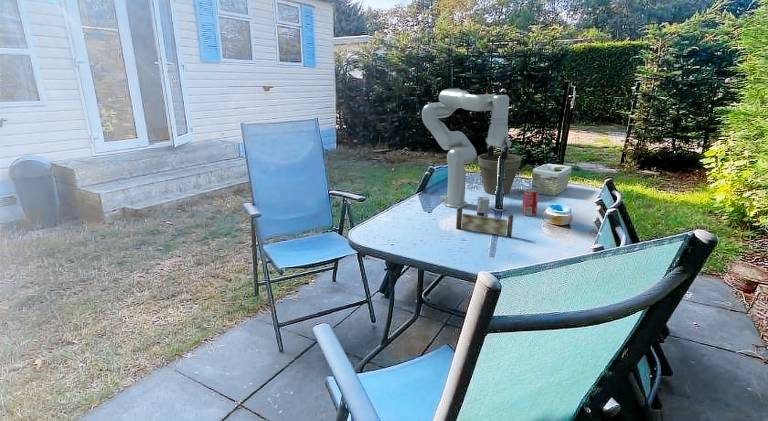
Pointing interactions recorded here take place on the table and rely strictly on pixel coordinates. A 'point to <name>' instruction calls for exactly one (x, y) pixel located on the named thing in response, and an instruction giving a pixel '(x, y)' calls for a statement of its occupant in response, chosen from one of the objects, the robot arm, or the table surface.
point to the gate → (484, 224)
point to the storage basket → (551, 179)
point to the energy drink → (483, 206)
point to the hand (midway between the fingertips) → (497, 157)
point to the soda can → (530, 202)
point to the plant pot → (490, 171)
